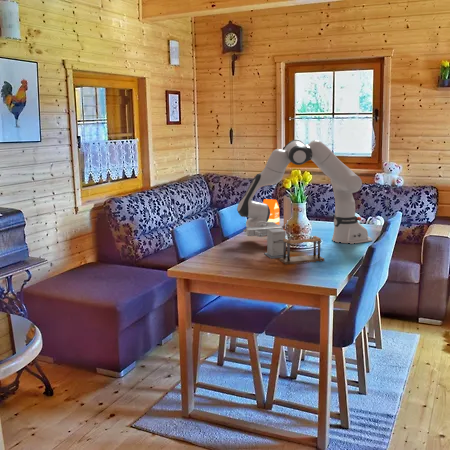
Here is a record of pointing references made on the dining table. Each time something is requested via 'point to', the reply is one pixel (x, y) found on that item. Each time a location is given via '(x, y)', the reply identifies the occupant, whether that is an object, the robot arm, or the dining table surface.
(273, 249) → the supplement box
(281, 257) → the mat
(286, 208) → the candle
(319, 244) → the wooden post stand
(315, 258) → the brown board
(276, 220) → the orange juice
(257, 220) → the robot arm
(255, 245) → the dining table surface
